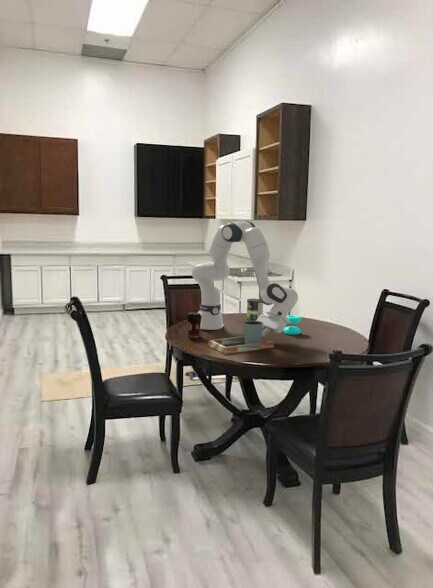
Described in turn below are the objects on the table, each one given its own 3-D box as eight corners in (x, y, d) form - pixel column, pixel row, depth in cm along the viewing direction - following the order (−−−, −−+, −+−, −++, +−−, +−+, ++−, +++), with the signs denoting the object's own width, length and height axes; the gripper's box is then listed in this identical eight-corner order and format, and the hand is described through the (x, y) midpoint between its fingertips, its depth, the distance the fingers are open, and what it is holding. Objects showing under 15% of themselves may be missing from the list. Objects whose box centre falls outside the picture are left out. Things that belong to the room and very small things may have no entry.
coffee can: (250, 323, 307) (250, 301, 305) (244, 320, 317) (244, 298, 315) (265, 322, 310) (265, 300, 308) (258, 319, 320) (259, 298, 318)
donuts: (303, 315, 283) (298, 318, 274) (303, 332, 284) (297, 336, 276) (287, 314, 287) (281, 316, 279) (286, 330, 289) (280, 334, 280)
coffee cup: (187, 338, 267) (187, 315, 265) (184, 334, 275) (184, 312, 273) (203, 337, 269) (203, 314, 267) (199, 334, 277) (199, 311, 275)
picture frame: (208, 346, 251) (208, 340, 251) (255, 339, 265) (255, 334, 265) (225, 354, 237) (225, 348, 236) (273, 347, 251) (274, 341, 250)
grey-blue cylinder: (260, 348, 249) (261, 325, 247) (241, 346, 251) (241, 323, 249) (263, 343, 258) (264, 321, 256) (245, 341, 261) (245, 319, 259)
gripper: (262, 308, 267) (246, 327, 264) (285, 314, 250) (269, 335, 246) (268, 315, 270) (253, 334, 267) (291, 322, 253) (276, 342, 249)
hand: (261, 334), depth 256 cm, fingers closed, pressing on grey-blue cylinder
